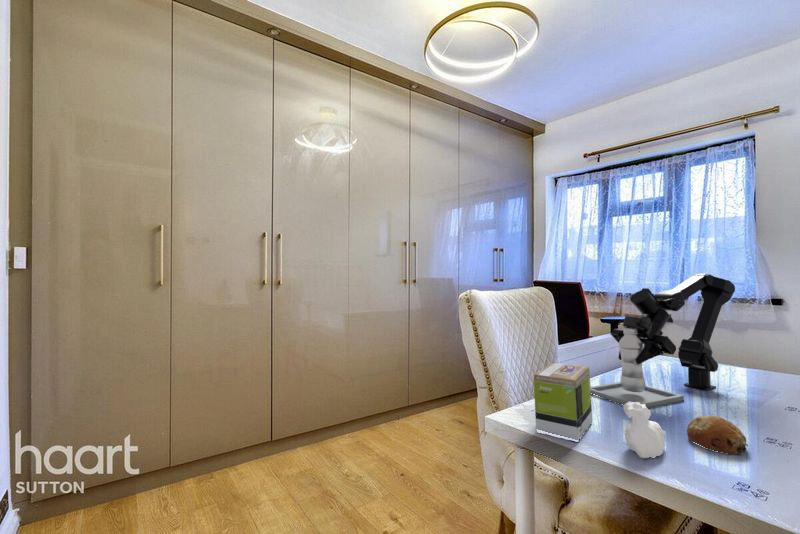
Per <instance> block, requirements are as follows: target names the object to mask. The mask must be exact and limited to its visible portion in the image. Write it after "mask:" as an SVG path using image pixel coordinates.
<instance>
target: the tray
mask: <svg viewBox="0 0 800 534" xmlns="http://www.w3.org/2000/svg"><path fill="white" fill-rule="evenodd" d="M590 388H591V393H592V394H595V395H598V396H600V397H603V398H605V399H608V400H611V401H613V402H612V403H614V402H616V403H615V404H617V403H619V404H618V405H620V404H623V405H625V404H626V403H628V402H635V403H636V402H639V403H640V404H641V405H642V404H646V407H647V408H649V409H653V408H657V407H663V406H667V405H672V404H676V403H677V404H678V403H682V402H684V401H685V396H684V395H682V394H679V393H674V392H671V391H667V390H664V389H660V388H658V387H652V386H649V385H645V390H644V391H643V392H631V391H627V390H624V389H623V388H622V386H621V382H620V381H617V382H612V383H606V384H600V385H593V386H590ZM605 399H604V400H605ZM608 400H607V401H608ZM611 401H610V402H611ZM623 405H622V406H623ZM652 407H653V408H652Z"/></svg>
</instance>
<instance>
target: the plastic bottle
mask: <svg viewBox="0 0 800 534" xmlns="http://www.w3.org/2000/svg"><path fill="white" fill-rule="evenodd" d="M623 330H624V332H623V333H624V336H623V337H622V338H621V340H620V341H619V343H618V347H619V351H620V353H621V360H620V361H621V375H620V381H619V382H621V386H622V388H623V389H624V390H627V391H631V392H643V391H644V390H645V386H646V380H645V377H644V371H643V363H641V364H637V363H636V360H637V358H638V356H639V355H640V353H641V351H642V350H643V348H644V344H642V342H641V340H640V339H639V338H638V337H637V334H638V332H637V328H633V327H626V326H623Z"/></svg>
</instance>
